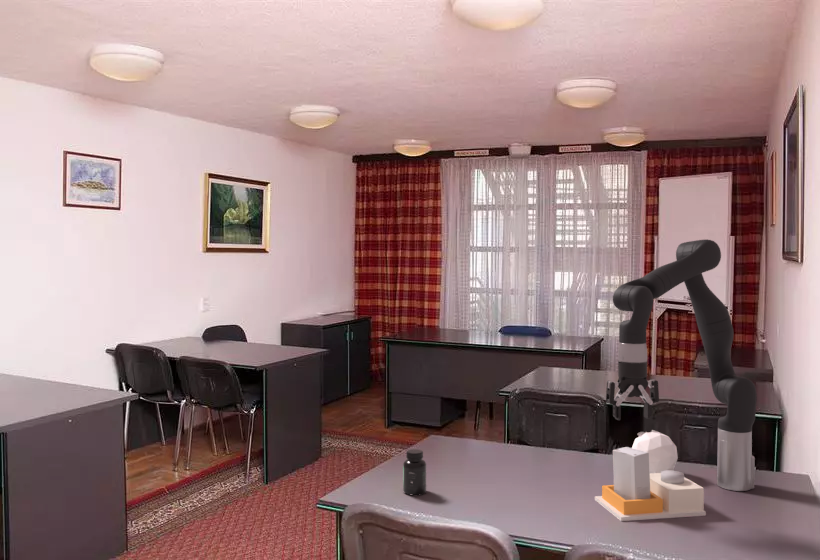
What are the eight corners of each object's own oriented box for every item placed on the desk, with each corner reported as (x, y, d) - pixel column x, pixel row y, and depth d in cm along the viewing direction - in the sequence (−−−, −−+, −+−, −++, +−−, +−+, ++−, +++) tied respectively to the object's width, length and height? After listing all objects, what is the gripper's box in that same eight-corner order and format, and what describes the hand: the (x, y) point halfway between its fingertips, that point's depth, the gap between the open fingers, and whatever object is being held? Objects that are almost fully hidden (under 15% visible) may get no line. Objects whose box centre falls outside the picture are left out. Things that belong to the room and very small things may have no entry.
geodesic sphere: (623, 461, 211) (652, 425, 210) (614, 449, 225) (642, 415, 224) (663, 492, 210) (693, 456, 209) (652, 478, 224) (680, 444, 223)
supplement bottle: (398, 493, 200) (398, 452, 200) (409, 486, 206) (409, 446, 206) (419, 497, 197) (419, 455, 197) (430, 490, 203) (430, 449, 203)
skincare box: (651, 507, 186) (651, 452, 185) (635, 511, 183) (635, 455, 182) (627, 498, 193) (627, 445, 193) (611, 501, 190) (612, 448, 190)
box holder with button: (673, 495, 199) (673, 464, 198) (705, 515, 183) (706, 481, 183) (594, 499, 195) (594, 468, 195) (621, 521, 179) (621, 486, 179)
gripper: (649, 356, 192) (649, 414, 192) (601, 358, 189) (601, 416, 190) (664, 360, 184) (663, 420, 185) (614, 362, 182) (614, 423, 182)
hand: (632, 418), depth 187 cm, fingers open, 8 cm apart
